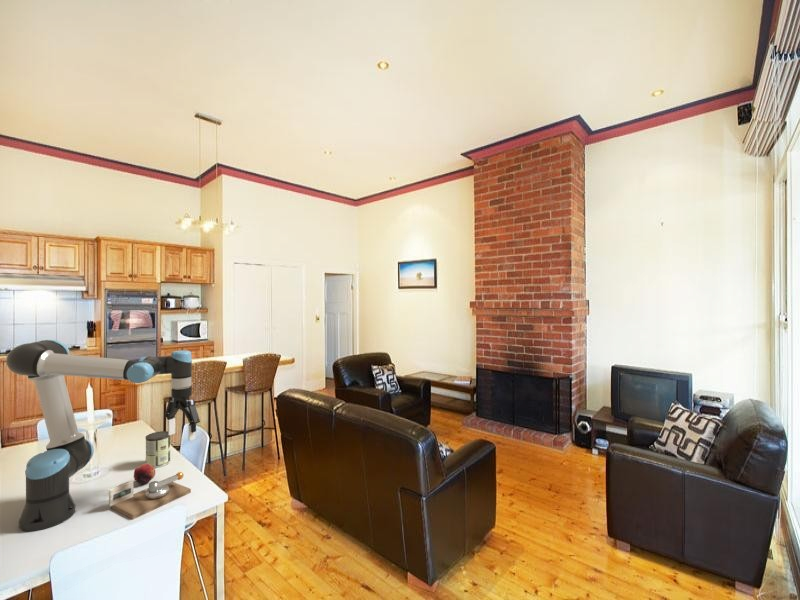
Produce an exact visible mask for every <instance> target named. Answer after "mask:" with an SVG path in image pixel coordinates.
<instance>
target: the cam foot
mask: <svg viewBox="0 0 800 600" xmlns="http://www.w3.org/2000/svg"><path fill="white" fill-rule="evenodd" d="M183 478H184V473H183V472H182V471H178V472H177V473H176V474H174V475H172V476H169V477H167V478H165V479H162V480H159V481H158V480H154V481H149V482H148V488H149V489H148V490H147V491H146V498H147V499H158V498H161V497H164V496H166V495H167V494H168V493H169V486H168V485H166V484H168V483H171V482H175V481H177V480H178V481H180V480H182V479H183Z"/></svg>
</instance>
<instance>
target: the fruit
mask: <svg viewBox="0 0 800 600" xmlns="http://www.w3.org/2000/svg"><path fill="white" fill-rule="evenodd" d="M155 476H156V468H154V467H153V466H151V465H150V464H146V463H143V464H141V465H139V466H137V467H136V468H135V469H134V471H133V478H134V482H136V483H138V484H140V485H145V484H147V483H150V482H151V480H153V479H154V478H155Z"/></svg>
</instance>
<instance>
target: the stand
mask: <svg viewBox="0 0 800 600" xmlns="http://www.w3.org/2000/svg"><path fill="white" fill-rule="evenodd" d="M134 483H135V481H128V482H126V483H124V484H120V485H118V486H115V487H114V488H110V489H109V490H108V506H109V507H110V508H111V509H113V510H115V511H117V512H119V513H120V514H122V515H124V516H126V517H128V518H130V519H132V520H134V519H136V518H139V517H142V516H144V515H145V514H147V513H150V512H152V511H154V510H157V509H158V508H160V507H162V506H164V505H167V504H168V503H171V502H174V501H176V500H178V499H179V498H182V497H184V496H186V495H188V494H191V492H192V491H191V490H192V488H190V487H187V486H185V485H182V484H180V483H177V482H175V481H173V482H171V483H168V484H166V485H168V486H169V493H168V494H167V495H166V496H164V497H161V498H158V499H147V498H146V491H147V490H148V489H149V487H148V488H145V489H143V490H140V491H137V492H135V493H134Z"/></svg>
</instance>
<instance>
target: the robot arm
mask: <svg viewBox="0 0 800 600" xmlns="http://www.w3.org/2000/svg"><path fill="white" fill-rule="evenodd" d="M5 361H6V363H5V364H6V367H7V368H8V369H9V370H10V371H11V372H12V373H13V374H16V375H19V376H27V379H28V380H29V381H32V382H34V385H35V387H36V391H37V396H38V398H39V399H38V400H39V403H40V407H41V411H42V415H43V418H44V422H45V427H46V430H47V434H48V438H49V442H48V443H47V445H46V446H45V448H46V450H45V451H44V452H40V453H37V454H36V455H34V456H32V457H31V458H30V459H29V460H28V461H27V462H26V467H25V505H24V508H23V510H22V513H21V514H20V518H19V521H18V528H19V530H21V531H23V532H34V531H40V530H45V529H48V528H51V527H54V526H57V525H59V524H61V523H64V522H66V521H68V520H69V519H71V517H73V516H74V515H75V514H76V504H75V501H74V500H73V498H72V495H71V493H70V478H72V477H73V476H74V475H75V474H76V473H78V472H79V471H80V470H82V469H84V467H86V466H87V465H88V464H89V462H90V461H91V460H92V458H93V456H94V453H95V452H94V451H95V450H94V445H93V444H92V442H91V441H89V440H88V439H86V438H85V435H84V433H82V432H79V430H78V426H77V422H76V418H75V415H74V410H73V406H72V403H71V398H70V395H69V390H68V386H67V382H66V379H65V378H66V377H65V376H72V377H81V378H83V377H85V378H94V379H95V378H97V379H110V380H123V381H124V380H125V381H129V382H131V383H133V384H142V383H145V382H147V381H149V380H150V379H152V378H153V377H155V376H158V375H171V377H170V379H171V380H170V381H171V382H170V384H171V385H170V387H171V394H170V395H171V396H170V397H168V403H167V406H166V409H165V412H164V415H163V417H164V418H166V420H167V431H168V435H170V436H171V435H175V434H176V415H177V413H178V412H179V410H180V411H181V412H183V413H184V415H185V417H186V418H187V421H188V423H189V424H188V428H187V429H188V431H187V433H188V442H189V441H190V442H191V441H193V440H196V439H197V436H196V435H197V424H198V423H201V419H200V417H199V413H198V409H197V406H196V401H195V399H190V397H191V396H192V392H193V389H192V388H193V387H192V386H193V385H192V373H193V371H192V370H193V369H192V367H193V366H192V365H193V360H192V352H191V351H190V350H188V349H187V350H186V349H184V350H183V349H181V350H173V351H172V352H171V354H170V355H166V356H165V355H163V356H160V355H159V356H151V355H150V356H141V357H139V358H138V360H133V359H123V358H122V359H121V358H110V357H99V356H88V355H76V354H70V350H69V348H68V346H67V345H66V344H65V343H63V342H61V341H59V340H56V339H55V340H54V339H47V340H46V339H45V340H39V341H33V342H29V343H23V344H19V345H17V346H15V347H14V348H12V349H11V350H10V351H9V352H8V355H7V356H6V360H5Z"/></svg>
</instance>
